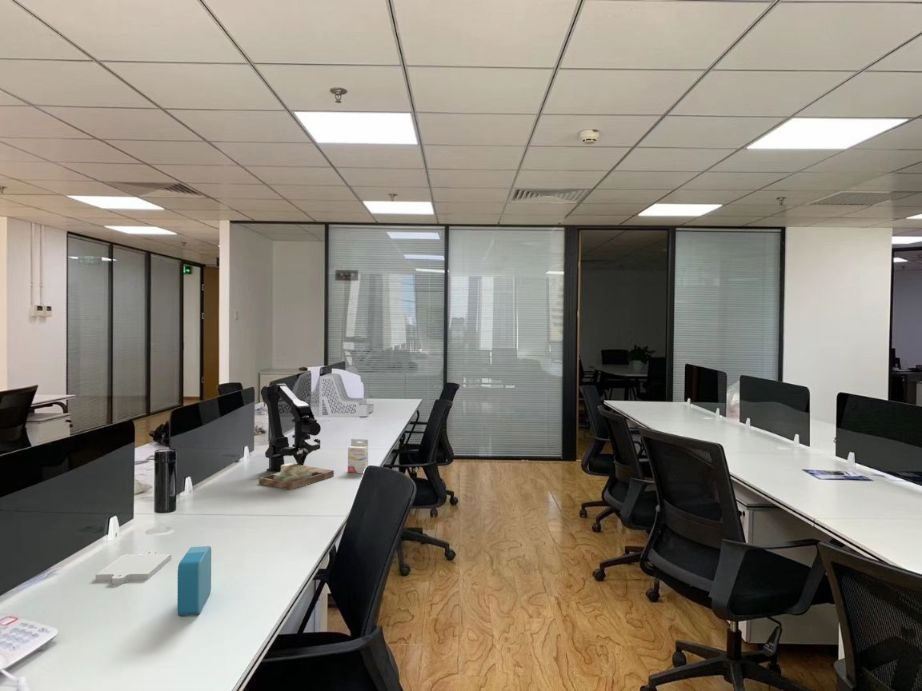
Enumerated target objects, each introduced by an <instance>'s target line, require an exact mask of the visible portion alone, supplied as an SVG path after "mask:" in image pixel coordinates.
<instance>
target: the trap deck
mask: <svg viewBox="0 0 922 691" xmlns="http://www.w3.org/2000/svg"><path fill="white" fill-rule="evenodd" d="M305 466H306V474H304V475H300V476H294V475H288V474H282V473H281V471H278V472H275V473H271V474H267V475H265V476H261V477H259V478H258V484H259V485H263V484H264V486H268V485H269V487H273V486H274V487H275V488H279V489H284V488H285V490H289V489H290V491H291V489H292V490H294V488H295V489H297V488H300V486H301V487H304V486H306V484H307V485H309V483H310V484H313V482H314V483H316V481H317V482H319V480H320V481H323V480H326V479H329V478H331V477H334V476H335V473H334V472H335V470H332V469H327V468H320V467H314V466H307V465H305ZM325 478H326V479H325ZM322 479H323V480H322ZM303 485H304V486H303ZM274 487H273V488H274Z"/></svg>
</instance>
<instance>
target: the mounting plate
mask: <svg viewBox="0 0 922 691" xmlns="http://www.w3.org/2000/svg"><path fill="white" fill-rule="evenodd" d="M170 561H172V554H171V553H157V551H156V550H146V551H144V552H142V553H141V554H139V553H138V554H137V553H136V554H135V553H134V554H133V553H132V554H131V553H129V554H126V553H125V554H122V555H121V556H119V557H118V558H116V559H115V560H114V561H112V562H111V563H109V564H108V565H106V566H105V567H104V568H103V569H101V570H100V571H98V572H97V573H96V574H95V581H111V585H123V584H125V583H126V582H128V581H142V580H143V581H149V580H150V579H151V578H152V577H153V576H154V575H156V574H157V573H158V572H159V571H160V570H161V569H162V568H163V567H165V566H166V565H167V564H168V563H169V562H170Z"/></svg>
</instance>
